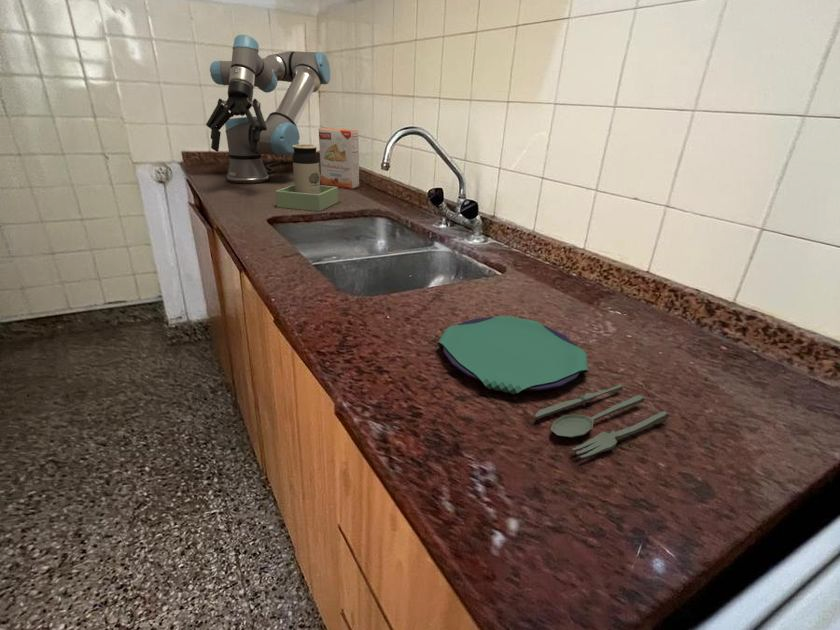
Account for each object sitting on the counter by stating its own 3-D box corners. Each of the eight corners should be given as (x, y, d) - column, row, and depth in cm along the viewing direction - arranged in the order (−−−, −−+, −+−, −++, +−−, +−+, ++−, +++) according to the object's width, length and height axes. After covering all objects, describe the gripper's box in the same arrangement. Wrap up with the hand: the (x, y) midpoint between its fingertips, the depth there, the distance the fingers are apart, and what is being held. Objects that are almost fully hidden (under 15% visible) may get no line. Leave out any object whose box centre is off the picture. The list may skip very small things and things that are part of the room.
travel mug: (292, 203, 147) (287, 144, 139) (314, 200, 151) (311, 144, 143) (302, 208, 141) (297, 147, 133) (325, 205, 146) (322, 146, 138)
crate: (298, 198, 154) (297, 183, 152) (338, 202, 151) (338, 186, 149) (276, 207, 141) (275, 190, 139) (319, 211, 138) (318, 195, 136)
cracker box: (320, 185, 175) (317, 127, 166) (329, 183, 180) (326, 127, 171) (351, 189, 171) (350, 130, 162) (359, 187, 176) (358, 129, 167)
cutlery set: (520, 318, 77) (521, 306, 76) (681, 422, 54) (687, 407, 52) (417, 341, 68) (418, 328, 67) (555, 478, 45) (559, 460, 44)
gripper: (199, 79, 144) (191, 144, 143) (270, 79, 139) (262, 146, 138) (214, 92, 151) (206, 154, 151) (282, 92, 146) (274, 156, 146)
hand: (233, 150), depth 144 cm, fingers open, 13 cm apart
